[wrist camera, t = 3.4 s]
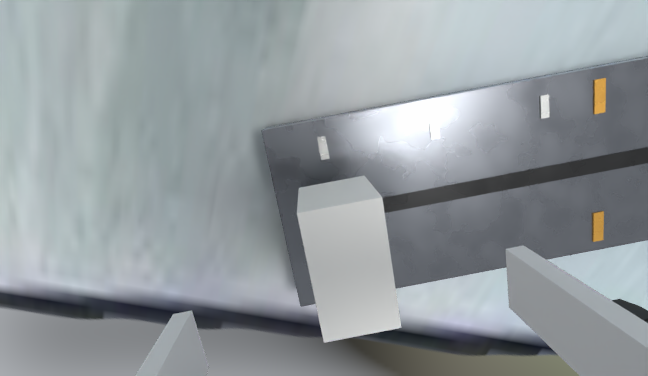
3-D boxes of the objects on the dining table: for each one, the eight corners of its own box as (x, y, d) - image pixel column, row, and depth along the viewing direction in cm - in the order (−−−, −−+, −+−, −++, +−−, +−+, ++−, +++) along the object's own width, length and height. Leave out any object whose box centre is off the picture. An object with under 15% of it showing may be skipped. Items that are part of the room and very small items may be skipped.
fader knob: (299, 175, 25) (296, 213, 16) (355, 164, 25) (382, 197, 16) (317, 264, 26) (324, 342, 18) (369, 254, 26) (401, 327, 18)
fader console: (266, 127, 27) (261, 130, 24) (667, 52, 27) (712, 46, 24) (301, 287, 30) (300, 307, 27) (658, 218, 31) (696, 231, 28)
